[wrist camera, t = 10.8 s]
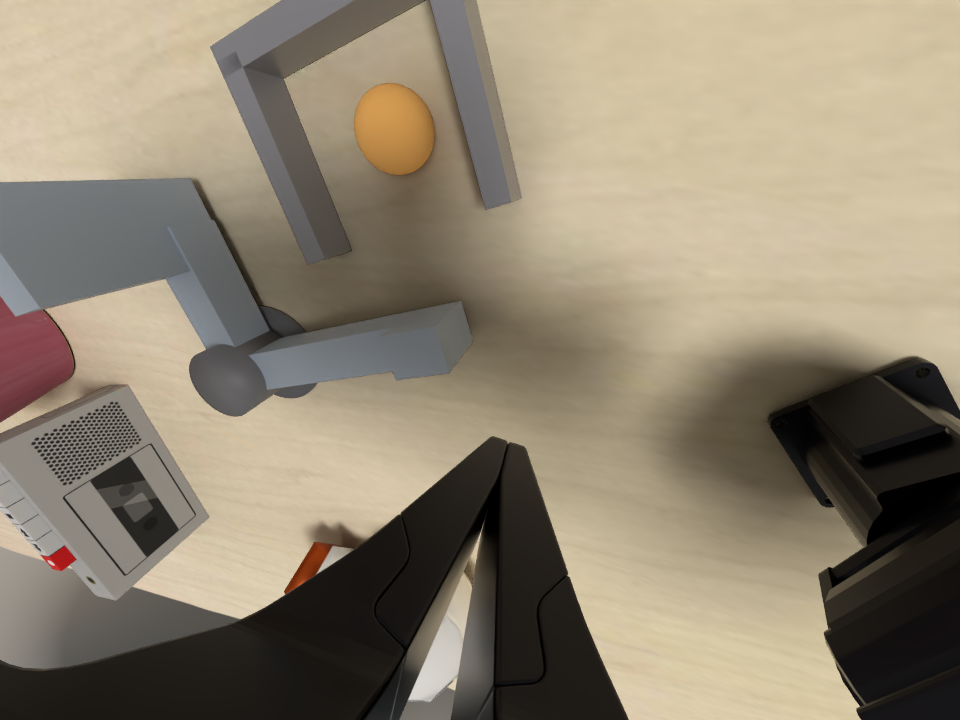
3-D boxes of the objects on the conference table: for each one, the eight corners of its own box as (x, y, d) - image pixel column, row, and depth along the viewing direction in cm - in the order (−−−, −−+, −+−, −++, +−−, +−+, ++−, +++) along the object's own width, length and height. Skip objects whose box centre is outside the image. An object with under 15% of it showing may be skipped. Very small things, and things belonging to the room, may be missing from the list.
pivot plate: (322, 326, 25) (319, 328, 25) (318, 409, 29) (315, 411, 28) (231, 291, 26) (227, 292, 26) (237, 376, 29) (233, 377, 29)
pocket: (521, 198, 19) (511, 201, 16) (335, 255, 23) (307, 264, 20) (461, -64, 15) (438, -103, 13) (254, 60, 19) (209, 46, 17)
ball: (438, 148, 16) (355, 91, 14) (406, 204, 18) (333, 161, 17) (455, 102, 17) (382, 47, 16) (423, 159, 20) (358, 117, 19)
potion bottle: (507, 571, 33) (366, 528, 39) (471, 567, 25) (300, 513, 31) (480, 707, 29) (328, 636, 35) (427, 752, 21) (241, 651, 27)
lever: (396, 84, 17) (212, 7, 9) (477, 356, 22) (406, 466, 14) (155, 194, 23) (-87, 207, 15) (261, 388, 28) (122, 478, 20)
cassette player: (210, 516, 40) (102, 612, 31) (191, 514, 41) (82, 607, 32) (129, 384, 34) (-33, 458, 25) (109, 385, 35) (-53, 457, 26)
